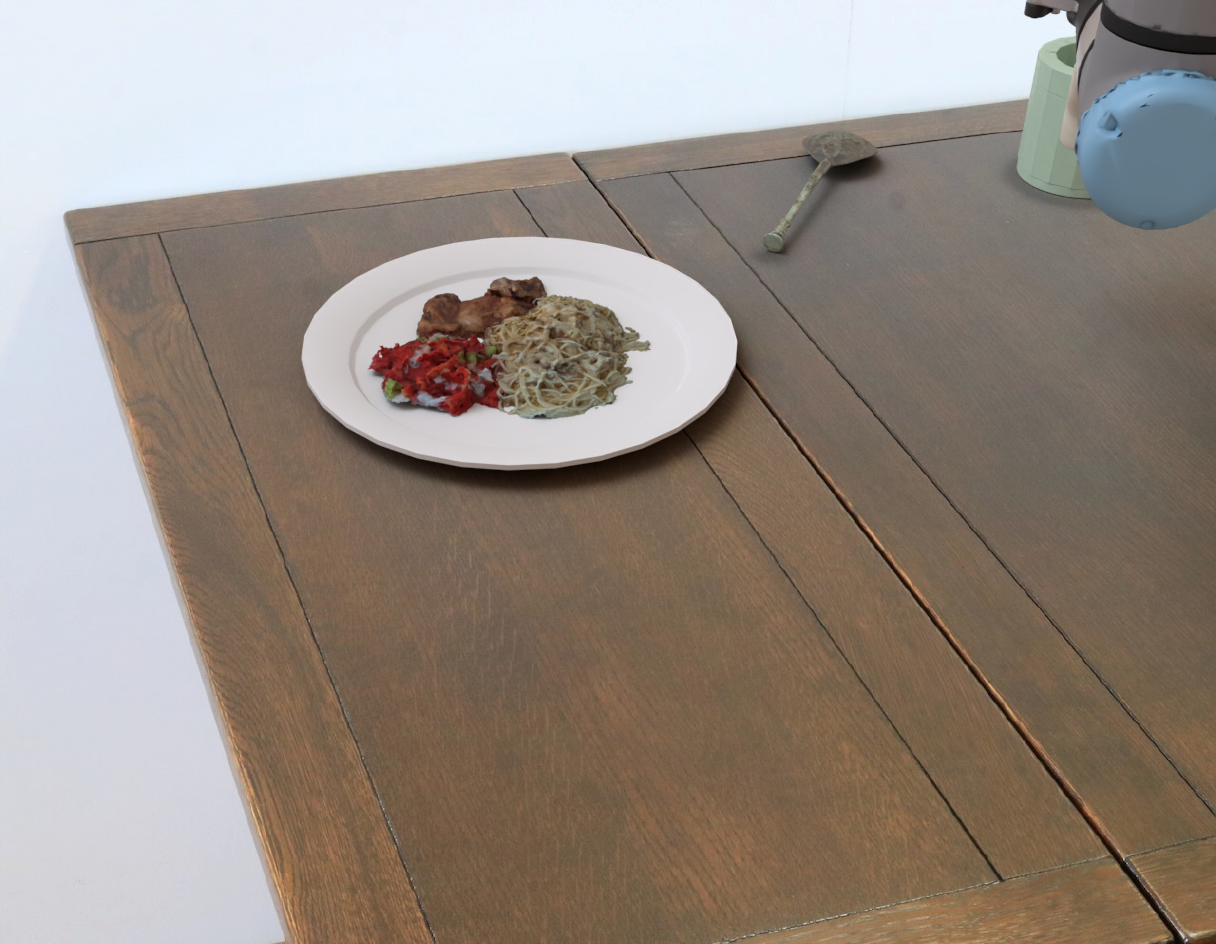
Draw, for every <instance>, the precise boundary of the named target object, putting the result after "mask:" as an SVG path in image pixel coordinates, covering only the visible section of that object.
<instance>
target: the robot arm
mask: <svg viewBox="0 0 1216 944" xmlns="http://www.w3.org/2000/svg"><path fill="white" fill-rule="evenodd" d="M1061 11H1062V12H1065V16H1066V19H1067V22H1068V23H1069V24H1070V25H1072V26H1073V27H1074V28H1075V36H1076V64H1077V92H1078V132H1077V135H1076V140H1075V151H1074V152H1075V154H1076V155H1077V163H1078V164H1079V166H1080V171H1081V175H1082V180H1083V183H1084V186H1085V188H1086V191H1087V193H1088V194H1089V196H1090V198H1089V199H1091V200H1092V202H1093V203H1094V205H1095V206H1096V207H1097V208H1098V209H1099V210H1100V211H1101V212H1102V213H1103V214H1104V215H1105V216H1107V217H1109V218H1111V219H1112V220H1114V221H1116V222H1118V223H1119V224H1122V225H1123V226H1127V227H1131V228H1136V229H1139V230H1140V229H1141V230H1143V231H1160V230H1169V229H1175V228H1178V227H1181V226H1185V225H1189V224H1191V223H1193V222H1195V221H1197V220H1200V219H1201V218H1202V217H1205V216H1206V215H1208V214H1210V213H1211V212H1212V211H1213V210H1216V0H1026V1H1025V7H1024V11H1023V15H1024V16H1025V17H1027V18H1030V19H1042V18H1044V17H1046V16H1048V15H1049V14H1051V15H1059V14H1061Z"/></svg>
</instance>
